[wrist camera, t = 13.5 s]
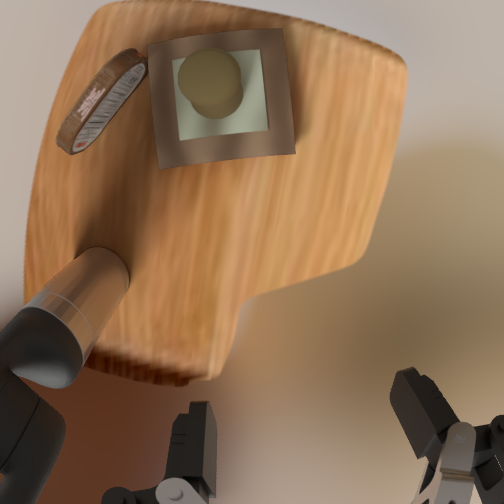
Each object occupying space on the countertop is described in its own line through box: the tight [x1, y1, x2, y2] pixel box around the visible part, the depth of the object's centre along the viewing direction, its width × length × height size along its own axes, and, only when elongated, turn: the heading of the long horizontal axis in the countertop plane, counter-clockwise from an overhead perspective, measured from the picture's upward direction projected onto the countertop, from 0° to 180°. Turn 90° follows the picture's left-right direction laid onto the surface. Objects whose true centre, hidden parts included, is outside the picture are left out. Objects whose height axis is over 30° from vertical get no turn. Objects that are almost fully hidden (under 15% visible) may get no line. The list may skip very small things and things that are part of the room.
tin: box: [56, 48, 148, 155], centre depth 28 cm, size 15×3×8 cm, turn 136°
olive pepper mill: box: [178, 48, 243, 119], centre depth 24 cm, size 6×6×11 cm
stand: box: [147, 29, 296, 170], centre depth 31 cm, size 16×16×4 cm
